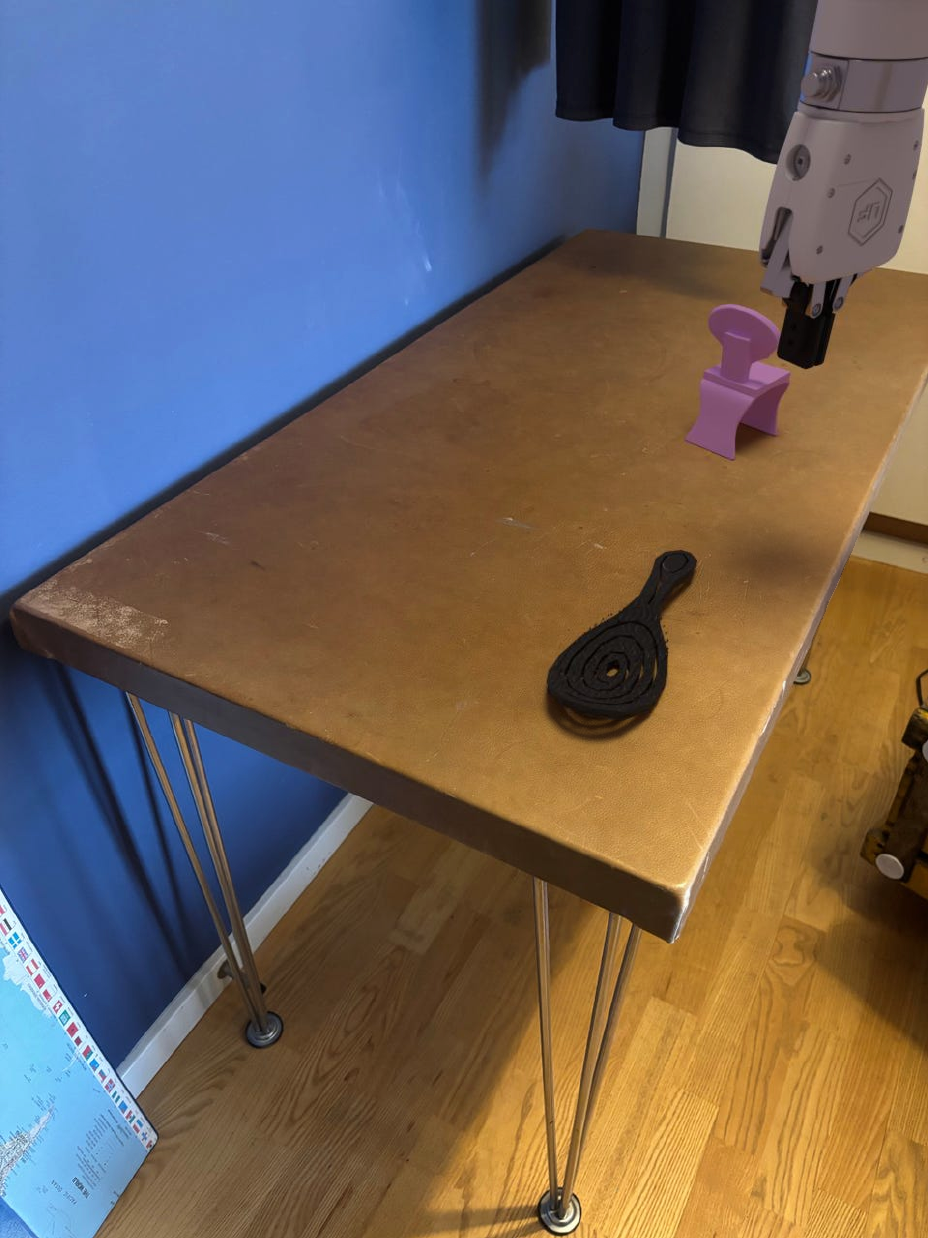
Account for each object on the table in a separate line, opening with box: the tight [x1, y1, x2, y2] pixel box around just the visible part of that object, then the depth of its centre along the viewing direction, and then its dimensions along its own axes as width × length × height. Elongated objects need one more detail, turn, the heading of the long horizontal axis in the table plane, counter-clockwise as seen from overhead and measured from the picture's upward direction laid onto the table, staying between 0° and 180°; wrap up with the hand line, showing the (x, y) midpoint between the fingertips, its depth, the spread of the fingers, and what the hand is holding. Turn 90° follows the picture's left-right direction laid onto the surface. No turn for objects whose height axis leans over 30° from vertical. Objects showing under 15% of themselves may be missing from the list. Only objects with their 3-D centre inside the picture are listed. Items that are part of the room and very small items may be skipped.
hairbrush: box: [545, 549, 698, 721], centre depth 73 cm, size 8×4×25 cm
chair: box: [684, 303, 792, 461], centre depth 95 cm, size 8×9×15 cm
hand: (799, 360), depth 69 cm, fingers closed
